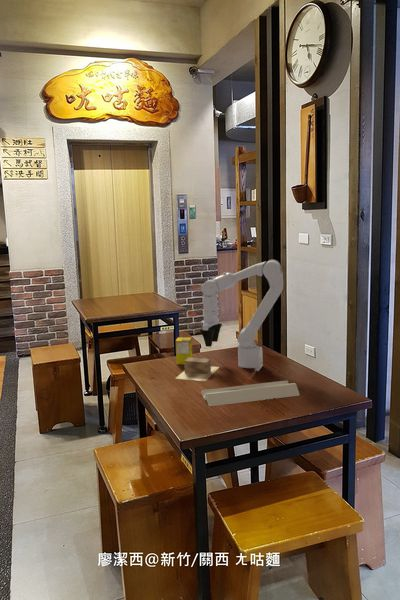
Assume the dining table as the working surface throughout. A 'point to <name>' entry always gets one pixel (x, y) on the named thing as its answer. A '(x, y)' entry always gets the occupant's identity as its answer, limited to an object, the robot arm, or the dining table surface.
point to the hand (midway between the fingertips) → (211, 343)
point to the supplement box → (183, 349)
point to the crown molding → (250, 393)
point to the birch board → (195, 376)
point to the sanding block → (197, 366)
